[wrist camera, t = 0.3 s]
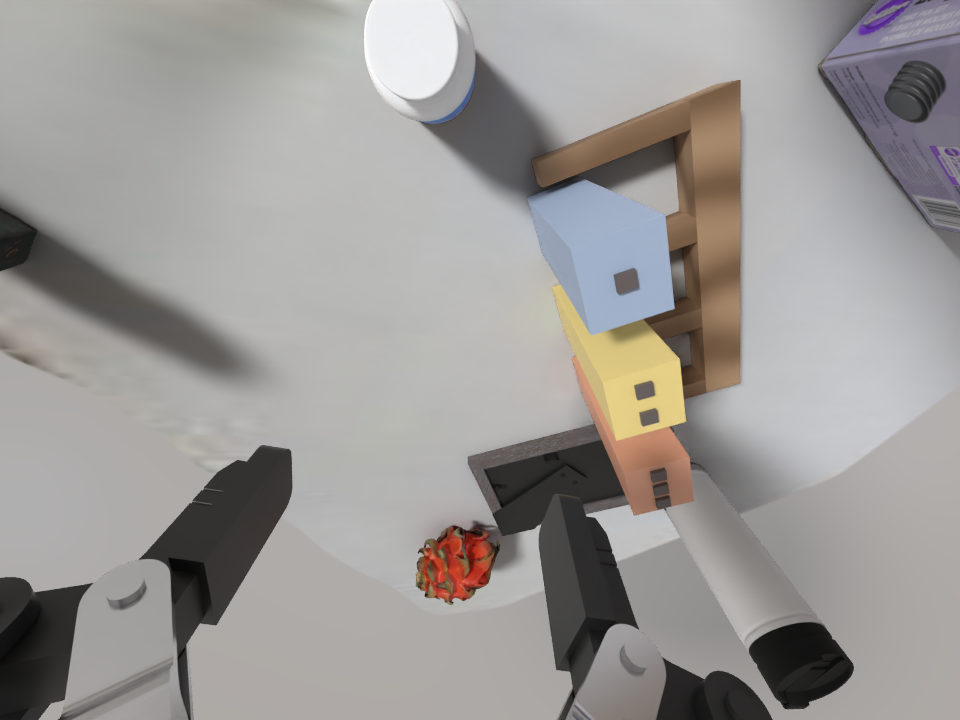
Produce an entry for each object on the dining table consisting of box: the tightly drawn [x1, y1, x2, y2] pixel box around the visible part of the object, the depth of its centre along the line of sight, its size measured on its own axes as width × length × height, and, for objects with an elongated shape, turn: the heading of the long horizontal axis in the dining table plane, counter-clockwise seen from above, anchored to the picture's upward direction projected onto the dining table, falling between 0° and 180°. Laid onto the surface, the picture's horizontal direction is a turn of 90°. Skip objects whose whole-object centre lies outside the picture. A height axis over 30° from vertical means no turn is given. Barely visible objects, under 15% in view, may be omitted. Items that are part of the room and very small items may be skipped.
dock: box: [531, 80, 740, 399], centre depth 31 cm, size 24×13×2 cm, turn 20°
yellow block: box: [552, 284, 686, 441], centre depth 27 cm, size 4×4×14 cm
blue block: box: [527, 177, 675, 336], centre depth 23 cm, size 4×4×14 cm
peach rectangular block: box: [572, 357, 694, 516], centre depth 30 cm, size 4×4×14 cm
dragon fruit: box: [416, 526, 500, 605], centre depth 47 cm, size 8×8×12 cm
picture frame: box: [468, 424, 629, 536], centre depth 44 cm, size 13×2×18 cm
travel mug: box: [664, 463, 854, 709], centre depth 37 cm, size 6×7×20 cm
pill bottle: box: [364, 0, 476, 124], centre depth 20 cm, size 6×5×10 cm
